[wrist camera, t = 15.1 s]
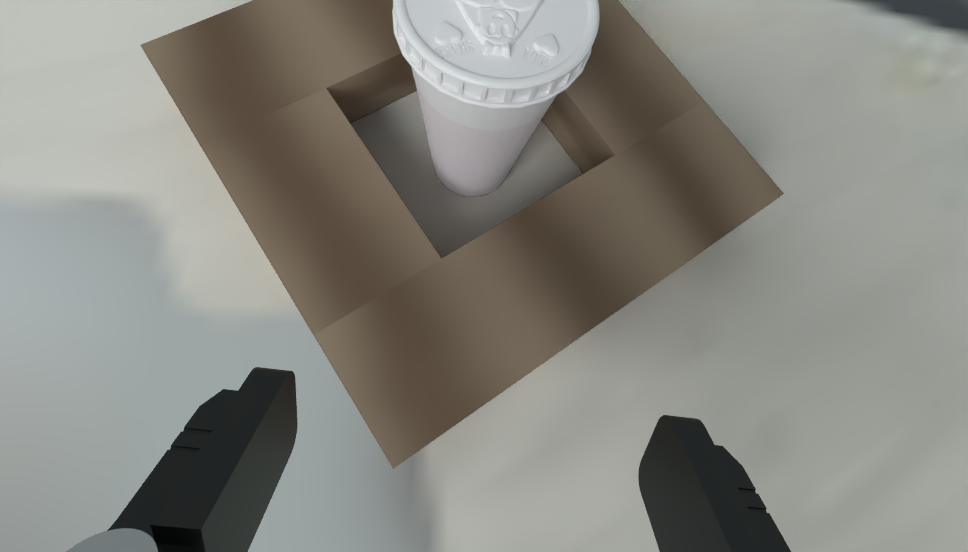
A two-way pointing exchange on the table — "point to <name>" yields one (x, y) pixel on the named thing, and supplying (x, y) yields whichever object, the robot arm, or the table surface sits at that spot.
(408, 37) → the smoothie
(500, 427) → the table surface
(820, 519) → the table surface
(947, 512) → the table surface
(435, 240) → the table surface
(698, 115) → the caddy
